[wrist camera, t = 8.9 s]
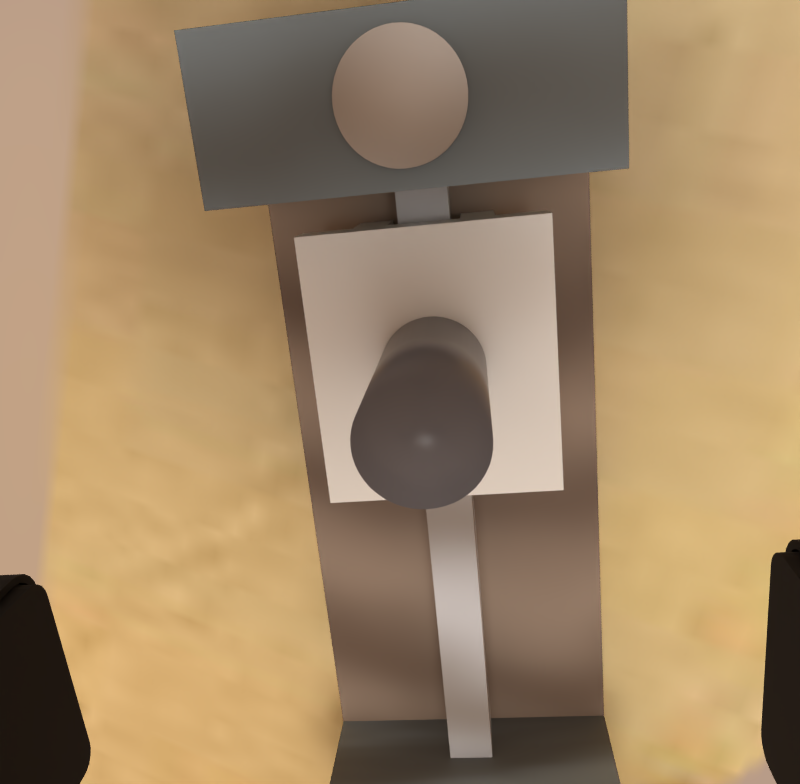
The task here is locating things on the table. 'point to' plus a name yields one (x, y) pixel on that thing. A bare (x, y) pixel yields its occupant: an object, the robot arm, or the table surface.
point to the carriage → (435, 357)
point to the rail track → (578, 503)
